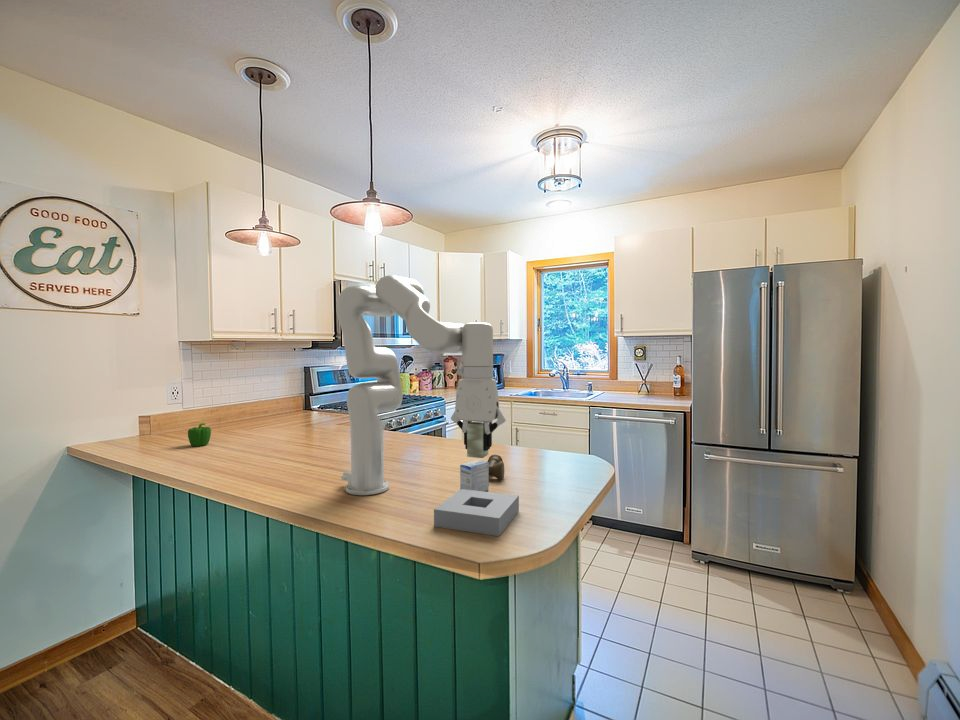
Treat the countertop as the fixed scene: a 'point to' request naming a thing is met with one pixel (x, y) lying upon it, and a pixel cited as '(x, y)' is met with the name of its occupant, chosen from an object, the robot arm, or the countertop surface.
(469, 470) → the medicine box
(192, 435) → the bell pepper
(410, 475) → the countertop surface
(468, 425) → the peg
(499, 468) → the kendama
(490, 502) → the socket block
